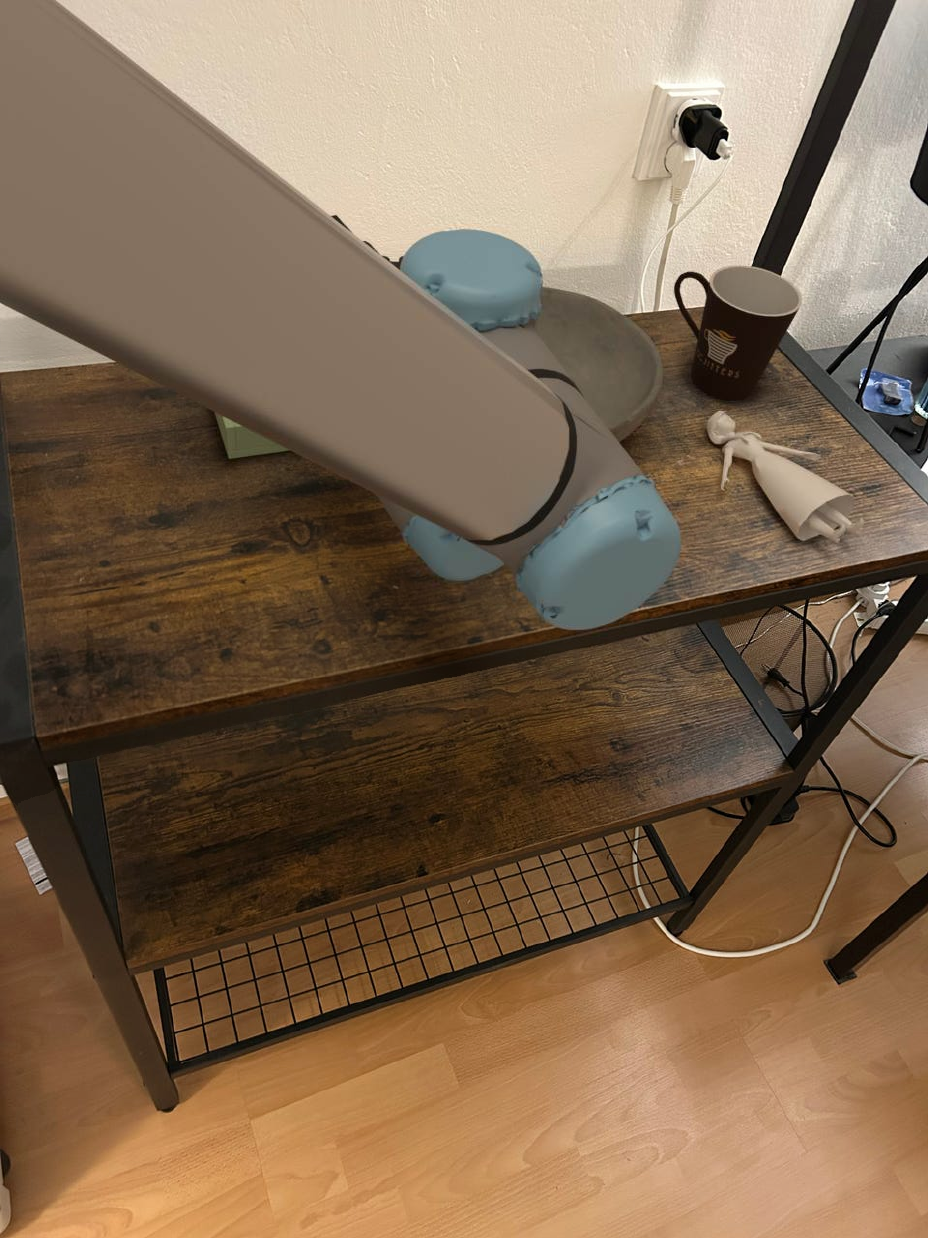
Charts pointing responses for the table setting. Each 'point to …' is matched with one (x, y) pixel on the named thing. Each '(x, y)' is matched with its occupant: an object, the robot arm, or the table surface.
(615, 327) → the bowl
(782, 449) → the woman figurine
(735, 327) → the coffee mug
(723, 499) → the table surface
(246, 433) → the bin
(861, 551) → the table surface
